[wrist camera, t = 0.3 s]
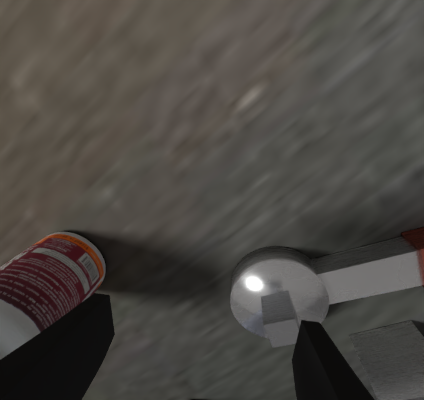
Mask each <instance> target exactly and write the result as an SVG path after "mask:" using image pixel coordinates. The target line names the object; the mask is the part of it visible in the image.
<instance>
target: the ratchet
mask: <svg viewBox="0 0 424 400" xmlns="http://www.w3.org/2000/svg"><path fill="white" fill-rule="evenodd" d="M421 285H422V286H423V287H424V227H422V228H418V229H414V230H410V231H406V232H402V233H401V237H397V238H394V239H390V240H386V241H382V242H378V243H374V244H370V245H366V246H362V247H358V248H354V249H350V250H346V251H342V252H338V253H334V254H331V255H327V256H323V257H319V258H315V259H311V260H310V259H309V258H308V257H307V256H306V255H304V254H303V253H301V252H299V251H297V250H294V249H291V248H287V247H280V246H272V247H265V248H260V249H258V250H255V251H253V252H251V253H249V254H247V255H246V256H245V257H244V258H242V259H241V260H240V261H239V263H238V264H237V265H236V267H235V269H234V271H233V275H232V283H231V297H230V304H231V309H232V312H233V314H234V316H235V318H236V319H237V320H238V322H239V323H240V324H241V325H242V326H243V327H245V328H246V329H247V330H249V331H250V332H252V333H254V334H256V335H259V336H262V337H265V338H269V340H270V342H271V344H272V346H273V347H278V346H284V345H290V344H296V341H297V337H298V332H299V328H300V324H301V320H306V321H314V322H319V323H320V324H321V323H322V321H323V320H324V319H325V317H326V315H327V312H328V309H329V304H334V303H339V302H344V301H349V300H354V299H359V298H363V297H368V296H373V295H378V294H383V293H388V292H392V291H397V290H402V289H407V288H412V287H417V286H421Z"/></svg>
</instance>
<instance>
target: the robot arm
mask: <svg viewBox="0 0 424 400" xmlns="http://www.w3.org/2000/svg"><path fill="white" fill-rule="evenodd" d="M114 335H115V333H114V326H113V319H112V311H111V304H110V296H109V295H105V294H97V293H94V294H93V295H91V296H90V297H88V298H87V299H86V300H84V301H83V302H81V303H80V304H79V305H77V306H76V307H75V308H73V309H72V310H71V311H69V312H68V313H67V314H65V315H64V316H62V317H61V318H60V319H58V320H57V321H56V322H54V323H53V324H51V325H50V326H49V327H47V328H46V329H44V330H43V331H42V332H40V333H39V334H38V335H36V336H35V337H33V338H32V339H30V340H29V341H27V342H26V343H24V344H23V345H21V346H20V347H18V348H17V349H15V350H14V351H12V352H11V353H10V354H8V355H7V356H5V357H4V358H2V359H1V360H0V400H82V398H83V396H84V395H85V393H86V391H87V389H88V388H89V386H90V384H91V382H92V380H93V379H94V377H95V375H96V373H97V371H98V370H99V368H100V366H101V364H102V362H103V360H104V358H105V356H106V353H107V351H108V349H109V346H110V344H111V342H112V339H113V337H114ZM292 364H293V373H294V382H295V390H296V396H297V400H374V398H373V397H372V396H371V394H370V393H369V392H368V390H367V389H366V388H365V386H364V385H363V384H362V382H361V381H360V380H359V378H358V377H357V375H356V374H355V373H354V371H353V370H352V369H351V367H350V366H349V364H348V363H347V362H346V360H345V359H344V357H343V356H342V354H341V353H340V352H339V350H338V349H337V347H336V346H335V344H334V343H333V341H332V340H331V338H330V337H329V335H328V334H327V332H326V331H325V329H324V328H323V326H322V325H321V324H320V323H319V322H314V321H306V320H301V324H300V328H299V332H298V337H297V341H296V345H295V349H294V354H293V358H292Z"/></svg>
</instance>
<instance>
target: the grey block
mask: <svg viewBox="0 0 424 400" xmlns="http://www.w3.org/2000/svg"><path fill="white" fill-rule="evenodd" d="M349 336H350V339H351V341H352V343H353V345H354V348H355V350H356V352H357V354H358V357H359V359H360V361H361V363H362V366H363V368H364V370H365V373H366V375H367V377H368V379H369V381H370V384H371V386H372V388H373V390H374V392H375V395H376V397H377V399H378V400H424V337H423V336H422V334H421V333H420V332H419V330H418V329H417V328H416V326H415V325H414V324H413V323H412V321H411V320H410V321H406V322H402V323H398V324H394V325H390V326H385V327H381V328H377V329H373V330H369V331H364V332H360V333H356V334H352V335H349Z"/></svg>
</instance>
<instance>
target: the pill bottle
mask: <svg viewBox="0 0 424 400" xmlns="http://www.w3.org/2000/svg"><path fill="white" fill-rule="evenodd" d="M105 273H106V265H105V261H104V258H103V256H102V254H101V253H100V251H99V250H98V249H97V248H96V247H95V246H94V245H93V244H92V243H91V242H90V241H88V240H87V239H86V238H84V237H82V236H80V235H77V234H74V233H70V232H56V233H53V234H50V235H48V236H46V237H45V238H43V239H41V240H40V241H38V242H37V243H35V244H34V245H32V246H31V247H29V248H28V249H26V250H25V251H23V252H22V253H20V254H19V255H17V256H16V257H14V258H13V259H11V260H10V261H9V262H7V263H6V264H4V265H3V266H1V267H0V360H1V359H2V358H4V357H5V356H7V355H8V354H10V353H11V352H12V351H14V350H15V349H17V348H18V347H20V346H21V345H23V344H24V343H26V342H27V341H29V340H30V339H32V338H33V337H35V336H36V335H38V334H39V333H40V332H42V331H43V330H44V329H46V328H47V327H49V326H50V325H51V324H53V323H54V322H56V321H57V320H58V319H60V318H61V317H62V316H64V315H65V314H67V313H68V312H69V311H71V310H72V309H73V308H75V307H76V306H77V305H79V304H80V303H81V302H83V301H84V300H86V299H87V298H88V297H90V296H91V295H93V294H94V293H95V291H96V290H97V289H98V287H99V286H100V285H101V283H102V282H103V280H104V277H105Z"/></svg>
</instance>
